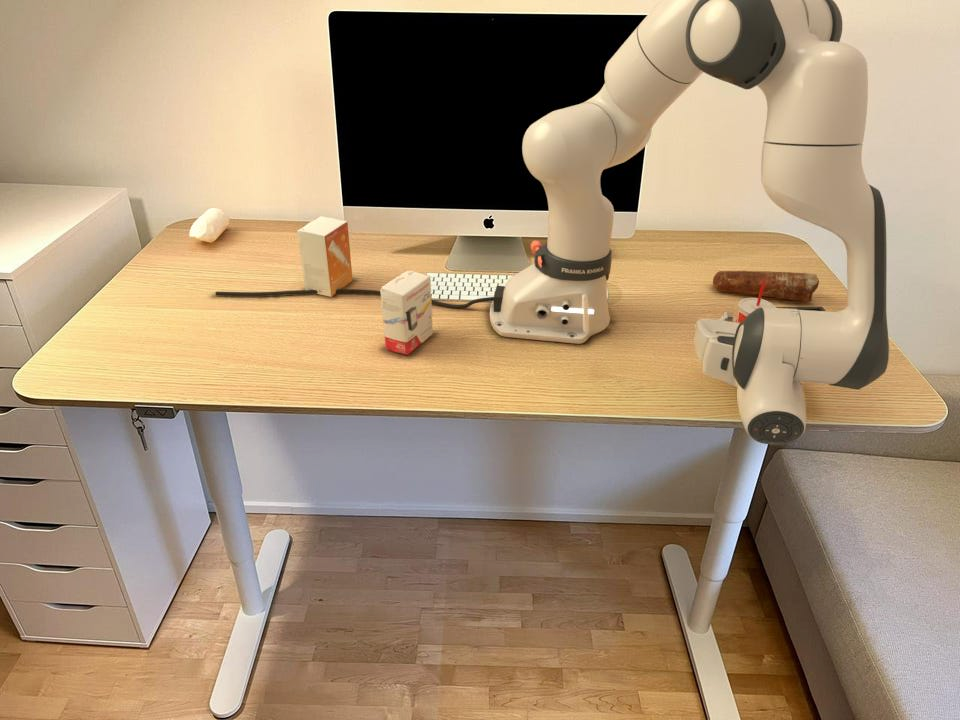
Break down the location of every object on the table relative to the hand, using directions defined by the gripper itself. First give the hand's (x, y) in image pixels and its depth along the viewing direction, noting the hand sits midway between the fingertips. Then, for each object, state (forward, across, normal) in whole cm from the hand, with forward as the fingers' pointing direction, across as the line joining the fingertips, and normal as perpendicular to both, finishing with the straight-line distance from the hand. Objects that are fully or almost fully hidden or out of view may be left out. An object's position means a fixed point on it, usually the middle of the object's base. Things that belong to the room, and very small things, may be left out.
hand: (756, 319), depth 118 cm
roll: (+20, +114, +9) cm, 117 cm away
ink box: (-9, +58, +8) cm, 59 cm away
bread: (+25, -5, +8) cm, 26 cm away
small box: (+7, +80, +8) cm, 81 cm away
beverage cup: (+3, 0, +8) cm, 9 cm away
